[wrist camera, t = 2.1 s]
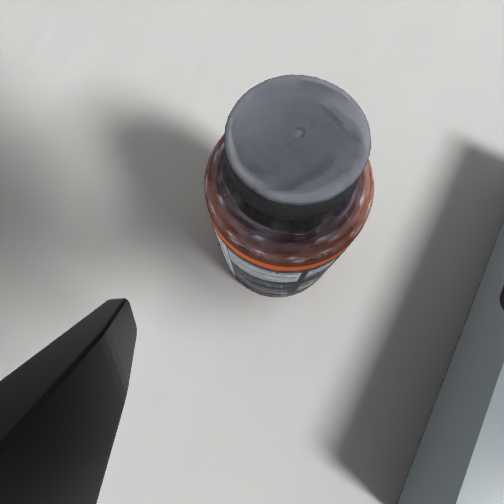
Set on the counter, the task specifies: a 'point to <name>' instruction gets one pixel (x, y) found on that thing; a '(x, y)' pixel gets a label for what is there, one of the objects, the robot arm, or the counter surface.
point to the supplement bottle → (289, 182)
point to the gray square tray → (468, 409)
